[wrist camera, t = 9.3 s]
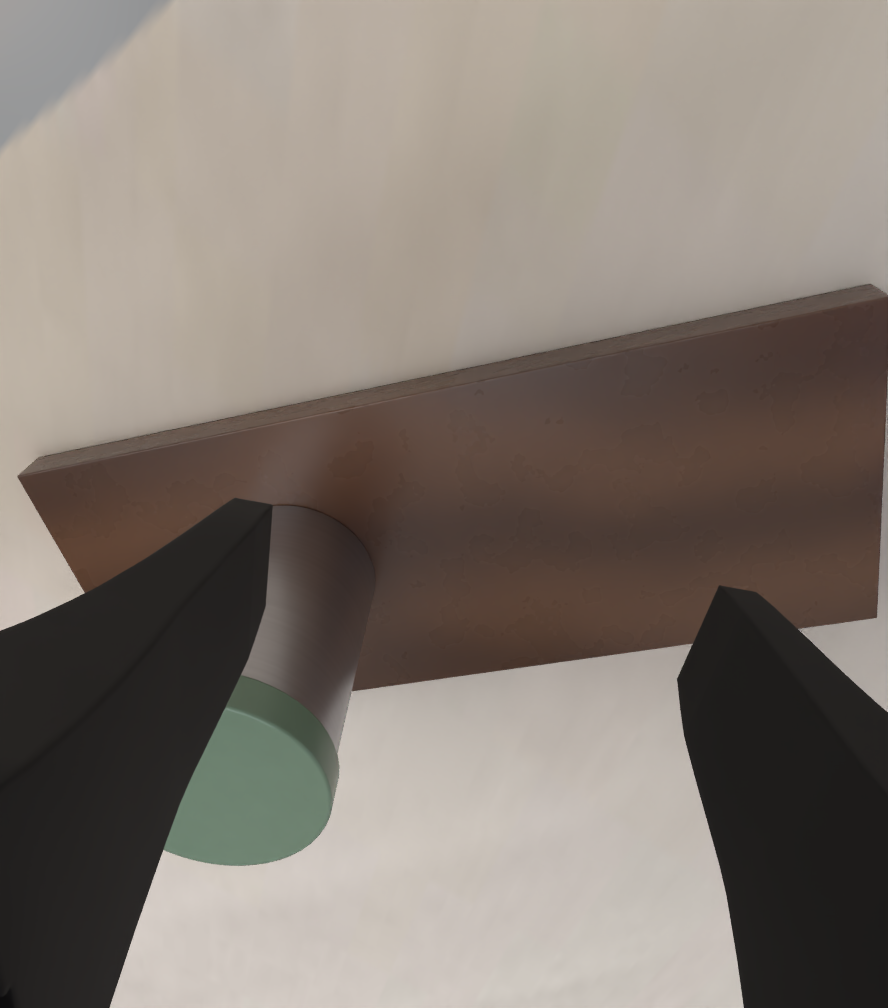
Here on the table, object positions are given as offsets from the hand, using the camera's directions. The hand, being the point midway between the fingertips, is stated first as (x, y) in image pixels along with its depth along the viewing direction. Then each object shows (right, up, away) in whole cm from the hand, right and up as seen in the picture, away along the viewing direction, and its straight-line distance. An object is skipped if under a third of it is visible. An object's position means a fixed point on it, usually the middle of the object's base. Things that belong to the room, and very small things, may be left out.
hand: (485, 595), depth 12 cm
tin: (-5, -1, +11) cm, 13 cm away
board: (0, +1, +12) cm, 12 cm away
